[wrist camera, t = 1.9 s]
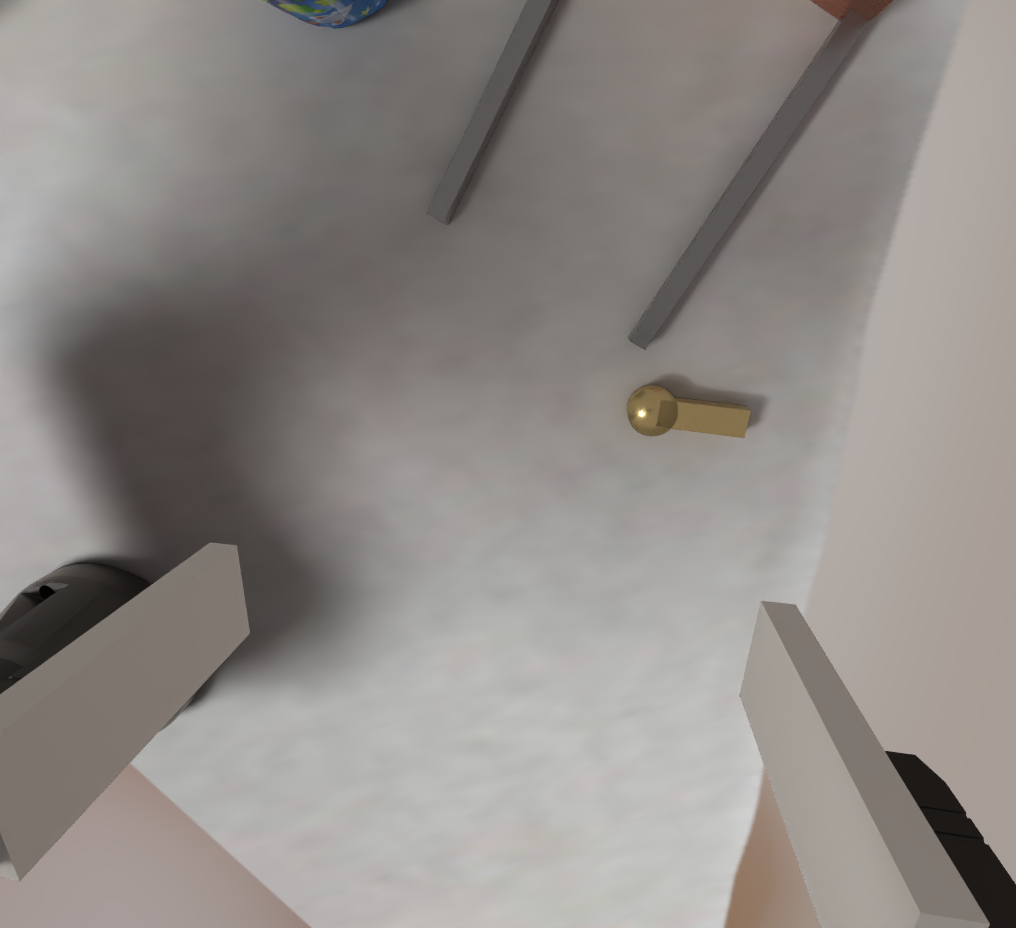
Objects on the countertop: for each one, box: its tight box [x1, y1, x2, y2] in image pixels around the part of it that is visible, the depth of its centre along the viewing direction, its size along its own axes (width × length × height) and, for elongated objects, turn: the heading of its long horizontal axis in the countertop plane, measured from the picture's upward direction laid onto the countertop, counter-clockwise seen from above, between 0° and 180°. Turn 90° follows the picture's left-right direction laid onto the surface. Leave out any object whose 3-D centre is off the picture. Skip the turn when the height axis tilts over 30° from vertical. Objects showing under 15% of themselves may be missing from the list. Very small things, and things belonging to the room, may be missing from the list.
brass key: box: [627, 385, 751, 438], centre depth 32 cm, size 7×3×1 cm, turn 85°
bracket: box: [427, 0, 893, 350], centre depth 26 cm, size 14×18×5 cm
